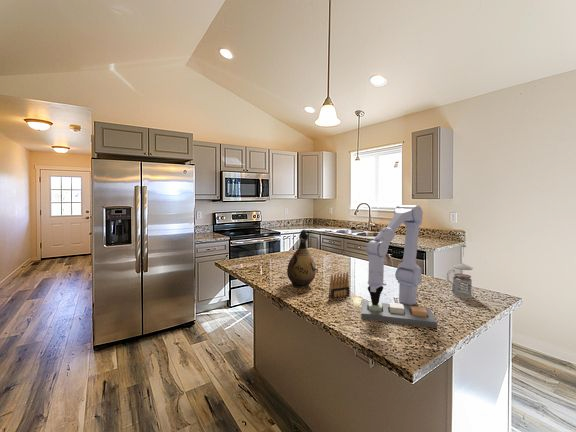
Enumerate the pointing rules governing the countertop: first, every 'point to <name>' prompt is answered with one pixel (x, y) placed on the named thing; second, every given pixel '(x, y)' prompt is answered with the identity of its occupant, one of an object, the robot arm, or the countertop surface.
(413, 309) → the orange key
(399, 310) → the white key
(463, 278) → the french press
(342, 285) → the ammunition clip
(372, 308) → the sage key
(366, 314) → the keypad
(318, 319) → the countertop surface
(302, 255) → the ceramic jug
